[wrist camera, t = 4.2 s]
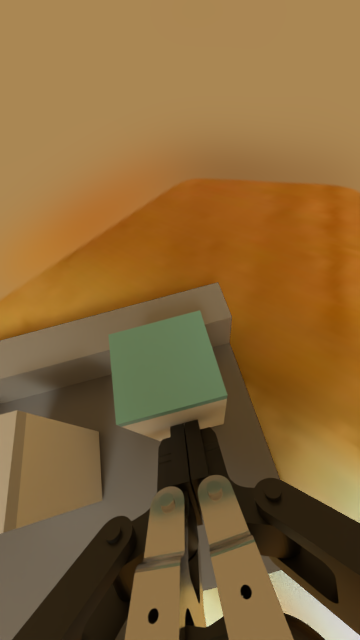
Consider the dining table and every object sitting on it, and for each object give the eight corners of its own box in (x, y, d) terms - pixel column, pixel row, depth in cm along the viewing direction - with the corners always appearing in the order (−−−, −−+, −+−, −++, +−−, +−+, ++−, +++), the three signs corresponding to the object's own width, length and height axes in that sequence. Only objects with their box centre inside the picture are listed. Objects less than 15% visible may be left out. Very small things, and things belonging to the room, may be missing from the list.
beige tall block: (33, 518, 15) (-125, 567, 8) (37, 448, 17) (-86, 437, 10) (102, 500, 15) (3, 532, 8) (98, 431, 17) (17, 410, 10)
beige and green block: (159, 441, 16) (116, 424, 9) (149, 383, 19) (108, 334, 12) (223, 423, 16) (227, 395, 9) (206, 368, 19) (199, 310, 12)
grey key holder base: (-149, 677, 14) (-316, 774, 9) (-66, 393, 22) (-136, 376, 18) (304, 555, 14) (344, 598, 9) (218, 317, 22) (218, 282, 18)
